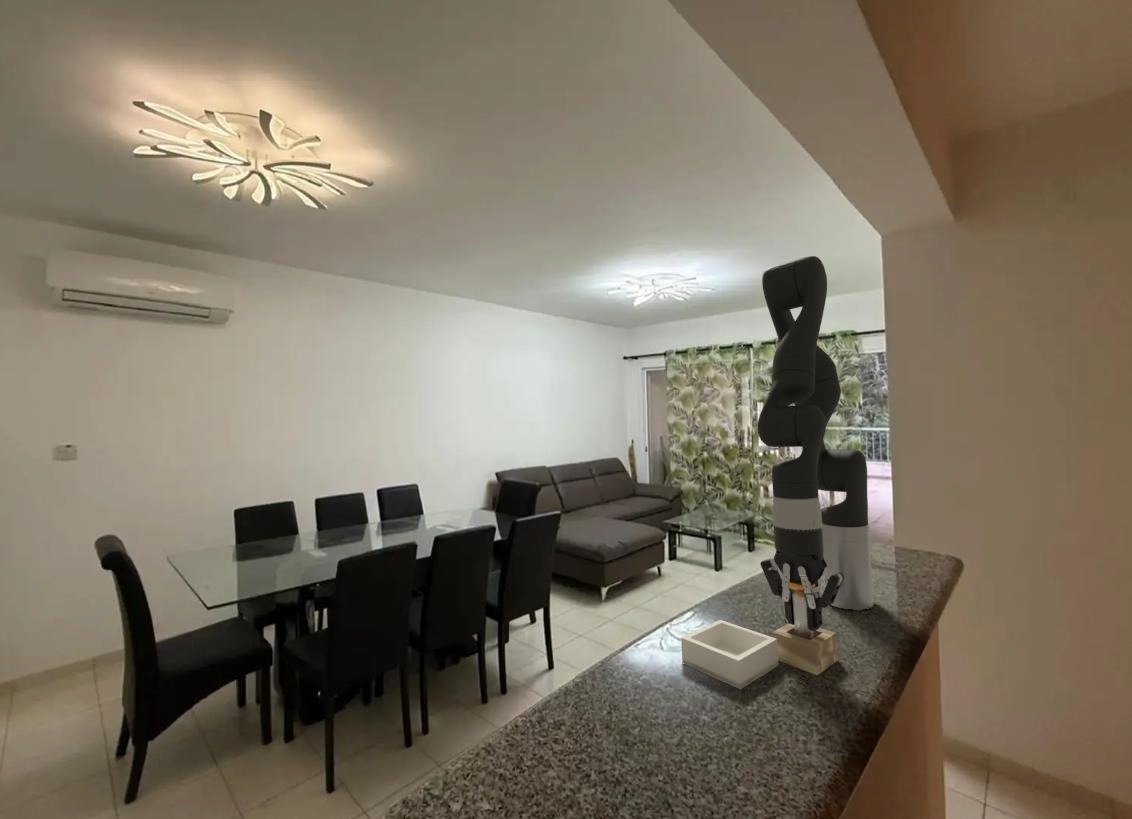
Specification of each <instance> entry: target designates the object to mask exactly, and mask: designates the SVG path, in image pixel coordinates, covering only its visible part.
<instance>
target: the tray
mask: <svg viewBox="0 0 1132 819" xmlns="http://www.w3.org/2000/svg"><path fill="white" fill-rule="evenodd" d="M680 642H681V661H682V664H683V663H684V664H683V665H685V664H686V665H685V666H687V665H688V666H687V667H690V668H691V669H694V670H696V671H699V672H701V673H703V674H705V675H707V676H709V677H712V678H714V679H716V680H719V681H720V682H723V683H725V684H727V685H729V686H731V687H734V688H736V689H738V690H739V691H741V690H742V689H743V688H745V687H747V686H748V685H750V684H752V683H753V682H755V681H756V680H759V678H761V677H763V676H764V675H766V674H767V673H769V672H770V671H772V670H774V669H776V668H777V667H778V666H779V665H780V664H779V662H780V661H778V645H777V639H776V638H773V636H769V635H766V634H764V633H761V632H758V631H755V630H752V629H749V628H745V627H743V626H740V625H736V624H735V623H731V622H729V621H728V622H727V621H725V620H722V619H719V620H717V621H714V622H712V623H710V624H707V625H706V626H704V627H701V628H699V629H697V630H695V631H693V632H690V633H688V634H686V635H684V636H682V637H680Z"/></svg>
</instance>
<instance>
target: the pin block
mask: <svg viewBox="0 0 1132 819" xmlns="http://www.w3.org/2000/svg"><path fill="white" fill-rule="evenodd" d="M772 637H773V638H776V639H777V645H778V661H779V662H781V663H784V664H786V665H788V666H791V667H794V668H796V669H799V670H802V671H805V672H808V673H810V674H813V675H816V676H818V675H820V674H822V673H823V672H824V671H826V670H827V669H828V668H830V667H831V666H832V665H834V664H836V663H837V662H838V661H839V656H838V655H839V654H838V653H839V652H838V639H837V638H838V637H837V632H835V631H830V630H827V629H824V628H821V627H819V629H818V630H816V631H814V639H812V640H808V639H805V638H802V637H799V636H795V634H794V625H792V624H789V623H786V624H785V625H783V626H782V627H779V628H778V629H776V630H774V631H772Z"/></svg>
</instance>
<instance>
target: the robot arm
mask: <svg viewBox="0 0 1132 819" xmlns="http://www.w3.org/2000/svg"><path fill="white" fill-rule="evenodd" d="M825 269H826V268H825V266H824V263H823V261H822V260H821V258H819V257H818V256H815V255H811V256H804V257H801V258H798V259H794V260H792V261H788V262H785V263H780V264H778V265H774V266H771V267H767V268H766V269H765V270H764V271H763V274H762V278H761V282H762V284H761V286H762V292H763V296H764V300H765V302H766V306H767V309H768V313H769V315H770V318H771V321H772V324H773V326H774V330H775V333H776V336H777V339H778V342H779V343H778V345H777V347H776V349H775V351H774V355H773V358H772V359H773V360H772V372H771V385H770V388H769V392H768V395H767V397H766V399H765V402H764V404H763V407H762V409H761V411H760V414H759V416H758V420H757V428H756V429H757V435H758V436H759V439H760V441H761V442H762V443H763V444H764V445H766V446H767V447H770V448H771V447H772V448H794V447H795V448H796V447H797V448H798V447H801V448H802V451H801V453H800V454H799V456H798V457H795V458H794V459H793V458H792V459H789V460H788V459H787V460H781V461H778V462H776V463H774V464H773V465H772V467H771V480H772V482H771V483H772V495H773V498H772V522H773V523H772V524H773V525H772V526H773V541H774V548H775V554H774V557H772V558H771V557H770V558H766V559H764V560H761V561H760V562H759V563H760V567H761V569H762V572H763V573H764V576H765V578H766V581H767V583H768V585H769V588H770V590H771V593H772V594H773V595H774V596H778V597H780V598H781V599H782V601H783V600H784V606H785V617H786V619H787V620H788V623H789V624H792V625H794V617H793V601H792V590H791V589H789V588H788V582H791V581H792V582H796V583H800V584H802V585H803V586H804V590H805V592H804V593H805V594H806V596H807V601H808V605H809V608H808V620H809V630H812V631H816V630H818V629H819V628H821V627H822V626H823V612H822V611H823V609H826V608H827V607H829V606H831V607H832V606H833V607H834V608H839V609H842V608H843V610H848V609H853V610H852V611H864V610H863V609H868V610H870V609H869V608H871V607H873V608H874V606H873V605H875V604H874V602H875V601H874V590H873V588H874V586H873V575H872V574H873V573H872V560H871V559H872V558H871V544H870V531H869V519H868V517H869V505H868V504H869V503H868V502H869V501H868V465H867V464H868V463H867V460H866V457H865V455H864V453H863V452H862V451H860V450H858V449H827V448H826V446H825V440H824V439H825V435H826V428H827V425H828V424H829V421H830V420H831V417H832V415H833V414H834V412H835V410H836V408H837V406H838V404H839V402H840V400H841V399H840V398H841V394H842V393H841V392H842V391H841V385H840V384H841V383H840V380H839V376H838V371H837V367H836V364H835V362H834V360H833V359H832V358H831V357H830V355H829V354H828V353H826V352H825V351H824V350H823V348H821V347H820V346H819V345H818V339H819V334H820V331H821V326H822V322H823V316H824V312H825V311H824V310H825V306H826V305H825V304H826V300H827V294H828V276H827V273H826V270H825ZM799 308H801V310H800V311H799V314H798V316H797V318H796V320H795V318H794V315H793V313H792V311H791V310H793V309H799ZM792 404H794V405H792ZM819 491H824V492H840V493H845V494H846V495H845V498H844V500H843V501H841V502H839V503H837V504H833V505H829V506H828V505H827V506H826V507H822V508H821V504H820V498H819V496H820V494H819ZM778 569H779V570H780V572H781V573H780V572H779V570H778ZM780 574H782V576H781V575H780ZM782 577H783V579H781V578H782ZM821 577H822V578H823V592H822V594H821V590H822V587H821V582H820V579H821ZM815 583H816V587H815V588H812V587H811V585H813V584H815ZM806 586H807V587H806ZM871 609H872V608H871ZM788 623H787V624H788Z"/></svg>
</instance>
